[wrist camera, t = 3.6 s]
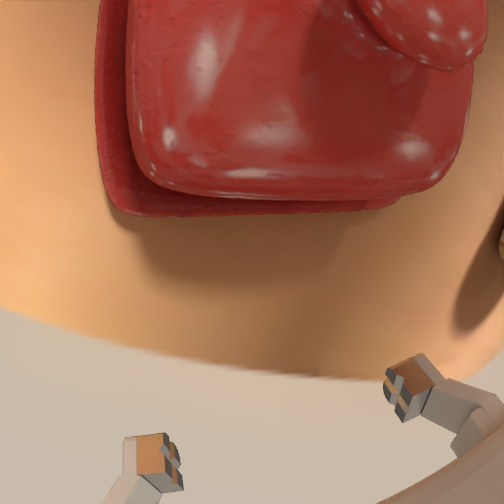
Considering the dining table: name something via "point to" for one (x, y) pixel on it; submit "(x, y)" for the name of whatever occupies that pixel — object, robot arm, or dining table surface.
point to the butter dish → (280, 102)
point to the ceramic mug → (501, 245)
